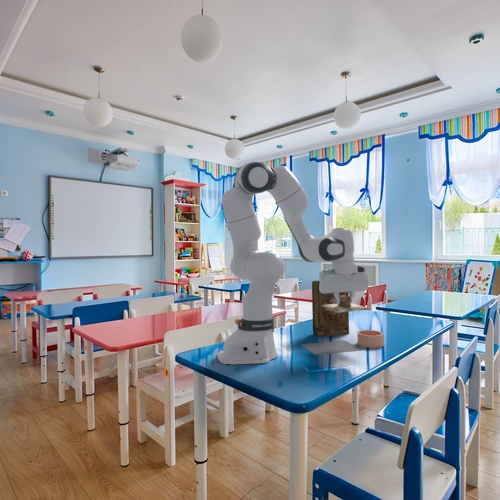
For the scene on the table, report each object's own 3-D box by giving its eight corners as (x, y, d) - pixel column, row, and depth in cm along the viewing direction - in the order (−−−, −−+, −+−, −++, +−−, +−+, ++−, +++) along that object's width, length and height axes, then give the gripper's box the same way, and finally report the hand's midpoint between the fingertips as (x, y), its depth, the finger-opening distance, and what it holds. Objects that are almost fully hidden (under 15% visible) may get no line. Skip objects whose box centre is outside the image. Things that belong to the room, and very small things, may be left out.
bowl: (366, 349, 135) (366, 336, 135) (353, 343, 144) (352, 331, 144) (389, 347, 137) (388, 334, 137) (374, 341, 147) (374, 329, 147)
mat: (315, 356, 128) (315, 355, 128) (300, 345, 143) (300, 344, 143) (364, 351, 133) (364, 350, 133) (344, 341, 147) (344, 340, 147)
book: (344, 332, 163) (343, 279, 163) (351, 334, 158) (349, 280, 158) (312, 335, 159) (311, 280, 159) (318, 338, 154) (317, 281, 154)
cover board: (337, 312, 131) (337, 299, 131) (322, 306, 144) (322, 295, 144) (368, 309, 134) (367, 297, 134) (350, 304, 147) (350, 293, 147)
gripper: (322, 270, 133) (324, 306, 133) (370, 267, 138) (371, 302, 138) (315, 269, 139) (317, 303, 139) (361, 267, 144) (362, 300, 144)
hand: (344, 303), depth 139 cm, fingers closed on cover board, 3 cm apart
